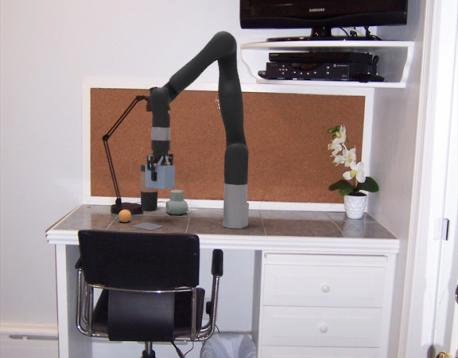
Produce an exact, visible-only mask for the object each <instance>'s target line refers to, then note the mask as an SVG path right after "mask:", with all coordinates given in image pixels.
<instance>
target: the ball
mask: <svg viewBox="0 0 458 358" xmlns="http://www.w3.org/2000/svg"><path fill="white" fill-rule="evenodd" d="M131 218H132V213H131V211H130V210H128V209H122V210H121V211H120V212H119V213H118V219H119V221H120V222H122V223H128V222H130V220H132V219H131Z"/></svg>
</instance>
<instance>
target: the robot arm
mask: <svg viewBox="0 0 458 358" xmlns="http://www.w3.org/2000/svg"><path fill="white" fill-rule="evenodd" d="M237 45H238V43H237V40H236V38H235V37H234V35H233V34H232V33H230V32H228V31H225V30H221V31H218V32H216V33H215V34H213V36H212V37H211V38H210V40H209V41H208V42H207V43H206V45H204V47H203V48H202V49H201V50H199V52H198V53H197V54H196V55H195V56H193V57H192V58H191V60H189V61H188V62H186V64H184V65H183V66H182V67H181V68H179V69H178V70H177V71H175V73H174V74H172V75H171V76H170V78H169V79H168V81H167V82H166V83H165V84H164V85H163V86H162V87H155V88H153V90H152V91H151V92H150V108H151V114H152V115H151V116H152V117H151V132H150V133H151V135H150V137H151V138H150V139H151V140H150V142H151V143H150V150H151V151H152V155H151V154H147V155H146V165H147V170H149V171H151V180H152V181H157V166H160V165H172V166H174V153H170V151H171V115H170V113H169V105H170V104H171V103H172V102H174V100H175V99H176V98H177V97H178V96H179V95H180V93H182V92H184V90H185V89H187V88H188V87H189V86H191V85H192V84H193V83H194V82H195V81H196V80H197V79H198V78H199V77H200V76H201V75H202V73H203V72H204V71H205V70H206V69H207V68H208V67H210V65H212V64H213V63H215V62H216V61H217V66H218V85H217V87H218V88H217V97H218V105H219V112H220V117H221V120H222V123H223V127H224V131H225V142H226V143H225V146H226V147H225V151H224V156H223V157H224V158H223V164H224V165H223V180H224V181H223V209H222V210H223V211H222V216H223V218H222V226H223V227H225V228H228V229H239V230H241V229H245V228H247V227H249V213H250V209H249V208H250V202H248V185H249V184H248V181H249V180H248V179H249V156H250V155H249V153H250V152H249V148H248V145H247V140H246V134H245V127H244V123H245V122H244V120H245V119H244V118H245V117H244V115H245V114H244V99H243V91H242V85H241V79H240V75H239V70H238V46H237ZM150 165H151V167H150ZM154 166H155V169H154Z"/></svg>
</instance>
